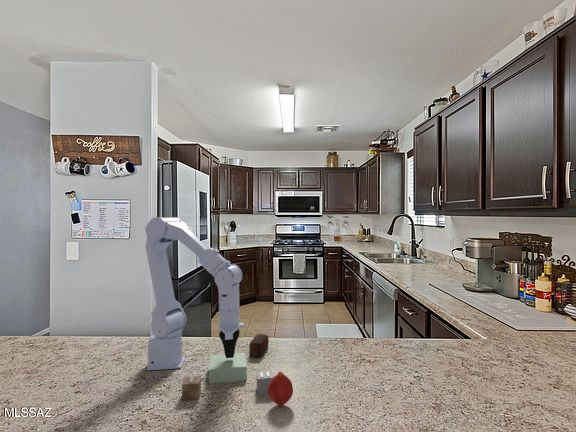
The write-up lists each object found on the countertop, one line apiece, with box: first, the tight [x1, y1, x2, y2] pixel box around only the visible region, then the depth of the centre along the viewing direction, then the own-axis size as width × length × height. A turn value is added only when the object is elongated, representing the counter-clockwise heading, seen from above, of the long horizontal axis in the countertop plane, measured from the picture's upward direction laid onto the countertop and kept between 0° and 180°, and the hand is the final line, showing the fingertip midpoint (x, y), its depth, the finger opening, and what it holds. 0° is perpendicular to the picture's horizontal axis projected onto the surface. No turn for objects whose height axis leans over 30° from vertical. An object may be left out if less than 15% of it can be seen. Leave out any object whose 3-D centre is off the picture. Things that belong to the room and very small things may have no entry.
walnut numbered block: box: [181, 375, 202, 402], centre depth 88 cm, size 4×4×4 cm
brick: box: [248, 333, 269, 358], centre depth 117 cm, size 11×4×5 cm, turn 170°
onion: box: [268, 370, 294, 407], centre depth 83 cm, size 6×6×8 cm
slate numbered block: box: [256, 370, 274, 396], centre depth 91 cm, size 4×4×4 cm
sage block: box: [208, 352, 248, 384], centre depth 101 cm, size 10×10×4 cm
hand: (229, 357), depth 101 cm, fingers closed
